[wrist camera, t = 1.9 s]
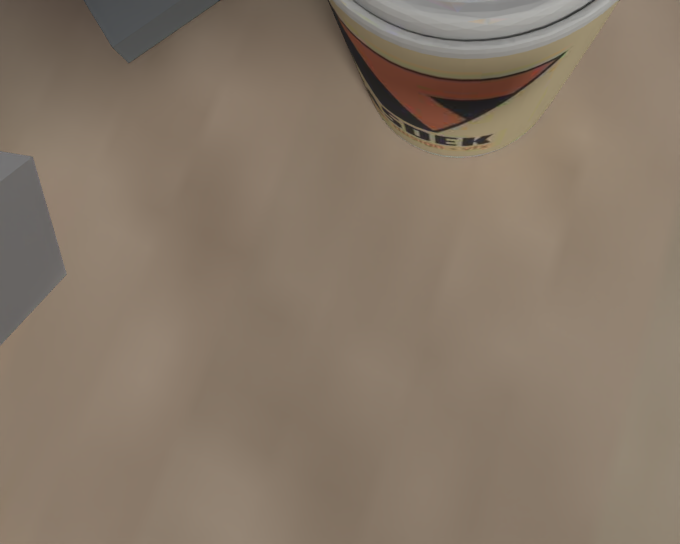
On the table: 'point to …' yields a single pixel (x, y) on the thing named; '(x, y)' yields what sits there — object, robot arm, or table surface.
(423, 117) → the coffee cup
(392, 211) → the table surface
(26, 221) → the robot arm
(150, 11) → the gray board
